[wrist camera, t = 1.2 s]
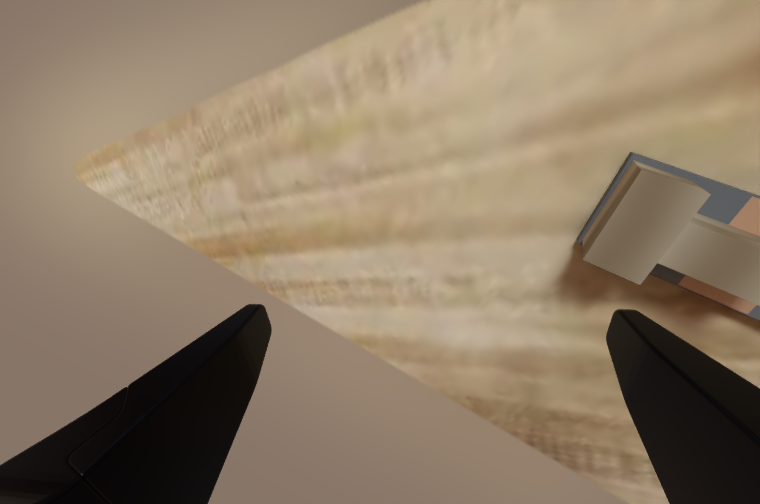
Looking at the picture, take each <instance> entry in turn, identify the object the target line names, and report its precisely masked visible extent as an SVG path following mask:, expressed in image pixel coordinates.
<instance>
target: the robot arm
mask: <svg viewBox="0 0 760 504" xmlns="http://www.w3.org/2000/svg"><path fill="white" fill-rule="evenodd" d="M270 336H271V324H270V321H269V318H268V315H267V312H266V309H265V307H264V306H263V305H261V304H249V305H246V306H245V307H243V308H242V309H240V310H239V311H237V312H236V313H235V314H233V315H232V316H230V317H229V318H227V319H226V320H224V321H223V322H221V323H220V324H218V325H217V326H215V327H214V328H212V329H211V330H210V331H208V332H206V333H205V334H204V335H202V336H201V337H199V338H198V339H196V340H195V341H193V342H192V343H190V344H189V345H187V346H186V347H184V348H183V349H181V350H180V351H178V352H177V353H175V354H174V355H172V356H171V357H169V358H168V359H166V360H165V361H164V362H162V363H161V364H159V365H158V366H156V367H155V368H153V369H152V370H150V371H149V372H147V373H146V374H144V375H143V376H142V377H140V378H138V379H137V380H135V381H134V382H132V383H131V384H130V385H129V386H128V387H125V388H123V389H122V390H121V391H119V392H118V393H116V394H115V395H113V396H112V397H110V398H109V399H107V400H106V401H104V402H102V403H101V404H99V405H98V406H96V407H95V408H93V409H92V410H90V411H89V412H87V413H86V414H84V415H82V416H81V417H79V418H78V419H76V420H74V421H73V422H71V423H69V424H68V425H66V426H64V427H63V428H61V429H60V430H58V431H56V432H55V433H53V434H51V435H50V436H48V437H46V438H45V439H43V440H41V441H40V442H38V443H36V444H35V445H33V446H31V447H30V448H28V449H26V450H25V451H23V452H21V453H20V454H18V455H16V456H15V457H13V458H11V459H10V460H8V461H6V462H5V463H3V464H2V465H0V504H208V502H209V499H210V497H211V494H212V492H213V489H214V487H215V484H216V482H217V480H218V477H219V474H220V472H221V470H222V467H223V465H224V462H225V460H226V458H227V455H228V453H229V450H230V448H231V445H232V443H233V440H234V438H235V436H236V433H237V431H238V428H239V426H240V423H241V421H242V419H243V416H244V413H245V411H246V409H247V406H248V403H249V401H250V399H251V396H252V394H253V392H254V389H255V386H256V384H257V380H258V378H259V374H260V371H261V367H262V364H263V361H264V357H265V354H266V350H267V347H268V343H269V340H270ZM606 341H607V345H608V349H609V352H610V355H611V358H612V362H613V365H614V368H615V371H616V375H617V378H618V381H619V384H620V388H621V391H622V394H623V397H624V400H625V403H626V405H627V408H628V410H629V412H630V415H631V417H632V419H633V422H634V424H635V426H636V428H637V431H638V433H639V435H640V437H641V440H642V442H643V444H644V447H645V449H646V451H647V453H648V456H649V458H650V460H651V463H652V465H653V467H654V469H655V472H656V474H657V476H658V478H659V481H660V483H661V485H662V488H663V490H664V492H665V494H666V497H667V499H668V501H669V503H670V504H760V388H758V387H757V386H755V385H753V384H752V383H750V382H749V381H747V380H746V379H744V378H742V377H741V376H739V375H738V374H736V373H734V372H733V371H731V370H730V369H728V368H727V367H725V366H723V365H722V364H720V363H719V362H717V361H716V360H714V359H712V358H711V357H709V356H708V355H706V354H705V353H703V352H701V351H700V350H698V349H697V348H695V347H694V346H692V345H690V344H689V343H687V342H686V341H684V340H683V339H681V338H679V337H678V336H676V335H675V334H673V333H672V332H670V331H668V330H667V329H665V328H664V327H662V326H661V325H659V324H657V323H656V322H654V321H653V320H651V319H649V318H648V317H646V316H645V315H643V314H642V313H640V312H638V311H637V310H630V309H619V310H616V311H615V312H614V314H613V316H612V319H611V322H610V325H609V328H608V331H607V335H606Z"/></svg>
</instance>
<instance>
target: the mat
mask: <svg viewBox="0 0 760 504" xmlns="http://www.w3.org/2000/svg"><path fill="white" fill-rule="evenodd" d="M633 160H634V161H637V162H640V163H643V164H646V165H648V166H651V167H654V168H657V169H660V170H663V171H666V172H669V173H671V174H674V175H677V176H680V177H683V178H686V179H689V180H691V181H693V182H694V183H696V184H697V185H698V186H700V187H701V188H703V189H704V190H705V191H707V192H708V193H710V194H711V195H710V196H709V198H708V199H707V200H706V201H705V203H704V204H703V205H702V207H701V208H700V209H699V210H698V212H697V213H698V214H701V215H704V216H706V217H709V218H712V219H715V220H717V221H720V222H723V223H725V224H728V225H731V226H733V227H736V228H739V229H742V230H744V231H747V232H750V233H752V234H755V235H758V236H760V196H758V195H755V194H752V193H749V192H747V191H744V190H741V189H738V188H735V187H732V186H729V185H726V184H723V183H720V182H717V181H714V180H712V179H709V178H706V177H703V176H700V175H697V174H694V173H691V172H688V171H685V170H682V169H679V168H676V167H674V166H671V165H668V164H665V163H662V162H659V161H656V160H653V159H650V158H647V157H644V156H641V155H639V154H636V153H633V152H630V154H629V156H628V157H627V159H626V160H625V162H624V164H623V165H622V167H621V168H620V170H619V172H618V173H617V175H616V176H615V178H614V180H613V181H612V183H611V185H610V186H609V188H608V189H607V191H606V193H605V194H604V196H603V197H602V199H601V201H600V202H599V204H598V205H597V207H596V209H595V210H594V212H593V213H592V215H591V217H590V218H589V220H588V221H587V223H586V225H585V226H584V228H583V230H582V231H581V233H580V234H579V236H578V238H577V243H580V244H582V245H583V238H584V237H585V235H586V233H587V232H588V230H589V229H590V227H591V226H592V224H593V222H594V221H595V219H596V218H597V216H598V214H599V213H600V211H601V210H602V208H603V207H604V205H605V203H606V202H607V200H608V199H609V197H610V195H611V194H612V192H613V191H614V189H615V188H616V186H617V184H618V183H619V181H620V180H621V178H622V176H623V175H624V173H625V172H626V170H627V169H628V167H629V165H630V164H631V162H632V161H633ZM650 274H652V275H654V276H657V277H659V278H661V279H664V280H666V281H668V282H671V283H673V284H675V285H678V286H680V287H682V288H685V289H687V290H689V291H692V292H694V293H696V294H699V295H701V296H703V297H706V298H708V299H710V300H713V301H715V302H717V303H720V304H722V305H724V306H727V307H729V308H731V309H734V310H736V311H738V312H741V313H743V314H745V315H748V316H750V317H752V318H755V319H757V320H759V321H760V306H759V305H756V304H754V303H752V302H749V301H747V300H745V299H742V298H740V297H737V296H735V295H733V294H730V293H728V292H725V291H723V290H721V289H718V288H716V287H714V286H711V285H709V284H706V283H704V282H702V281H699V280H697V279H694V278H692V277H690V276H687V275H685V274H682V273H680V272H678V271H675V270H673V269H671V268H668V267H666V266H663V265H661V264H659V263H657V264H656V265H655V267H654V268H653V269H652V271H651V272H650Z"/></svg>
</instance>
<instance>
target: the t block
mask: <svg viewBox="0 0 760 504" xmlns="http://www.w3.org/2000/svg"><path fill="white" fill-rule="evenodd" d="M710 195H711V194H710V193H708V192H707V191H705V190H704V189H703V188H701V187H700V186H698V185H697V184H696V183H694V182H693V181H691V180H689V179H686V178H683V177H680V176H677V175H674V174H671V173H669V172H666V171H663V170H660V169H657V168H654V167H651V166H648V165H646V164H643V163H640V162H637V161H634V160H633V161H632V162H631V164H630V165H629V167H628V169H627V170H626V172H625V173H624V175H623V176H622V178H621V180H620V181H619V183H618V184H617V186H616V188H615V189H614V191H613V192H612V194H611V195H610V197H609V199H608V200H607V202H606V203H605V205H604V207H603V208H602V210H601V211H600V213H599V214H598V216H597V218H596V219H595V221H594V222H593V224H592V226H591V227H590V229H589V230H588V232H587V233H586V235H585V237H584V238H583V260H584V261H586V262H589V263H591V264H593V265H595V266H598V267H600V268H602V269H604V270H607V271H609V272H611V273H613V274H616V275H618V276H620V277H623V278H625V279H627V280H629V281H632V282H634V283H636V284H638V285H641V283H642V282H643V281H644V280H645V278H646V277H647V276H648V274H649V273H650V272H651V271H652V269H653V268H654V267H655V265H656V264H657V263H659V264H661V265H663V266H666V267H668V268H671V269H673V270H675V271H678V272H680V273H682V274H685V275H687V276H690V277H692V278H694V279H697V280H699V281H702V282H704V283H706V284H709V285H711V286H714V287H716V288H718V289H721V290H723V291H725V292H728V293H730V294H733V295H735V296H737V297H740V298H742V299H745V300H747V301H749V302H752V303H754V304H756V305H759V306H760V236H758V235H755V234H752V233H750V232H747V231H744V230H742V229H739V228H736V227H733V226H731V225H728V224H725V223H723V222H720V221H717V220H715V219H712V218H709V217H706V216H704V215H701V214H698V213H697V212H698V210H699V209H700V208H701V207H702V205H703V204H704V203H705V201H706V200H707V199H708V198H709V196H710Z"/></svg>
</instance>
